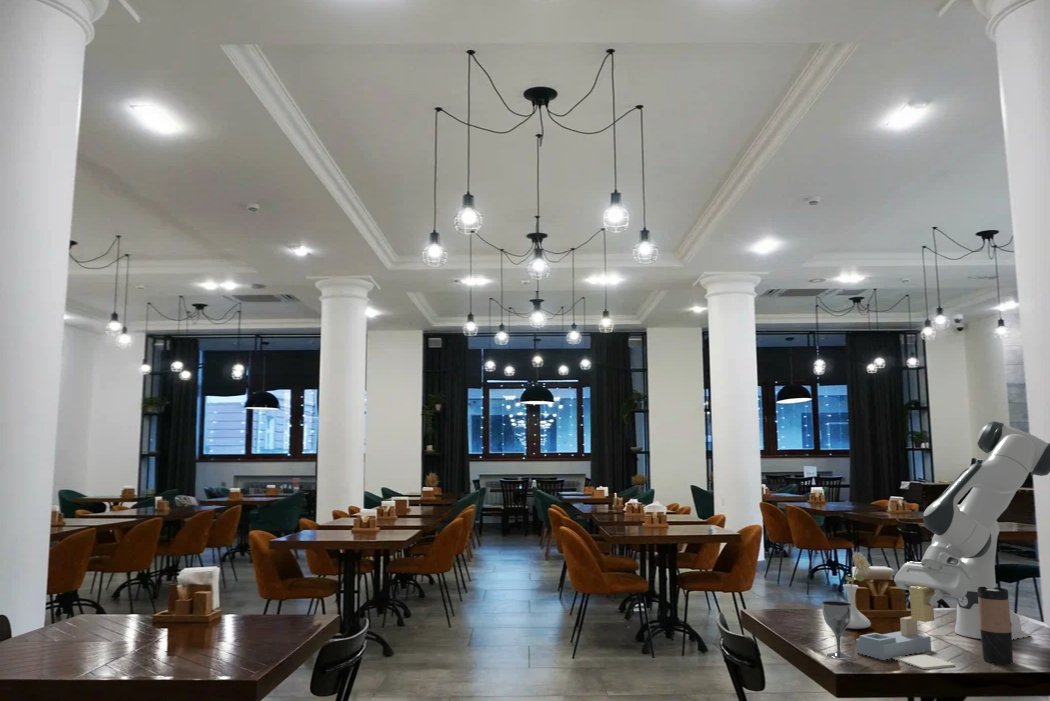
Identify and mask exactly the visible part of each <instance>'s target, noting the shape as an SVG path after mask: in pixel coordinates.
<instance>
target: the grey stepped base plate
mask: <svg viewBox="0 0 1050 701" xmlns="http://www.w3.org/2000/svg"><path fill="white" fill-rule="evenodd" d="M899 622H900V631H894V632H887V633H882V634H881V633H878V632H872V633H866V634H862V635H859V636H858V637H859V638H856V639H855V643H856V645H855V646H856V654H858V653H859V655H862V654H863V655H862V656H865V655H867V657H869V656H871V657H870V658H873V657H874V658H873V659H877V658H878V659H879V660H881V661H886V659H888V660H891V659H890V658H892V659H893V657H900V656H905V655H907V656H910V655H909V654H912V655H915V654H914V653H917V654H919V653H918V652H922V653H924V652H923V651H926V652H930V651H929V650H931V651H932V640H931V639H932V637H931V636H929V635H924V634H919V633H918V621H916V620H912V617H911V615H909V616H904V617H899ZM878 659H877V660H878Z"/></svg>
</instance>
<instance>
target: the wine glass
mask: <svg viewBox="0 0 1050 701" xmlns="http://www.w3.org/2000/svg"><path fill="white" fill-rule="evenodd" d="M821 608H822V609H821V610H822V616H823V619H824V621H825V622H824V623H826V626H828V628H829V629H830V630H831V631H832V632H833V634H834V637H835V640H836V650H837V651H836V652H831V653H830V652H829V653H826V654H827V656H829V657H833V658H850V657H851V656H852V655H849V654H847V653H843V652H841V651H842V650H841V636H842V634H843V633H844V632H845V630H846V629H848V628H847V626H848V625H849V623H850V619H851V603H848V601H845V600H844V601H843V600H823V601H821ZM827 656H826V657H827ZM829 657H828V658H829ZM833 658H832V659H833Z"/></svg>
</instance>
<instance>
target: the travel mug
mask: <svg viewBox="0 0 1050 701" xmlns="http://www.w3.org/2000/svg"><path fill="white" fill-rule="evenodd" d="M978 603H979V618H980V632H981V639H980V640H981V648H982V657H983V658H982V659H983V661H984V662H985V663H988V662H989V664H992V663H994V664H993V665H998V664H1011V663H1014V660H1013V659H1014V657H1013V655H1014V654H1013V640H1012V632H1011V620H1010V610H1011V609H1010V599H1009V590H1008V589H1006V588H1003V587H998V586H996V587H995V588H994V589H988V588H986V587H978ZM1011 665H1012V664H1011Z"/></svg>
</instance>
